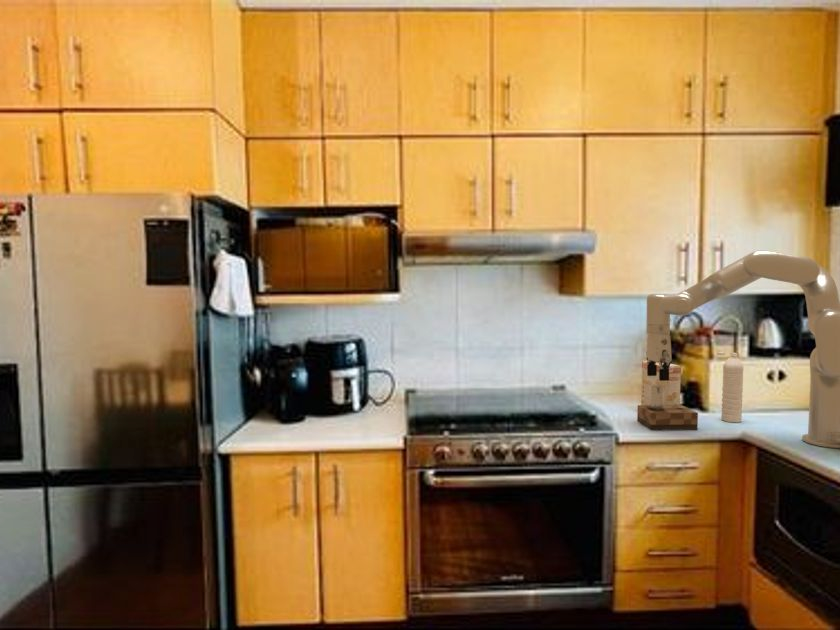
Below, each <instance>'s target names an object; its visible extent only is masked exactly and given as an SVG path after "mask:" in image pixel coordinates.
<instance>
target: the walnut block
mask: <svg viewBox="0 0 840 630" xmlns="http://www.w3.org/2000/svg"><path fill="white" fill-rule="evenodd" d="M636 414H637V417H636V418H637V419H636V421H637V422H638V424H641V425H642V426H643V427H645V428H647V429H648V430H650V431H698V425H699V424H698V423H699V421H698V420H699V419H698V418H699V412H696V410H693V409H691V408H688V407H686V406H684V405H682V404H680V405H663V409H662V411H651V410H650V405H641V404H638V405H637V413H636Z"/></svg>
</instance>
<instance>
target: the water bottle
mask: <svg viewBox="0 0 840 630" xmlns="http://www.w3.org/2000/svg"><path fill="white" fill-rule="evenodd" d="M725 354H726V352H725V351H717V353H716V355H718V356H725ZM722 368H723V369H722V374H723V375H722V388H721V389H722V394H721V395H722V398H721V402H722V403H721V420H722V421H724V422H729V423H741V422H742V419H743V418H742V413H743V410H742V408H743V391H744V390H743V386H744V385H743V384H744V383H743V382H744V381H743V380H744V365H743V363H742V361H741V360H740V359H739V357H738V352H730V353H729V357H728V358H727V359H726V361H725V362H724V364H723V366H722Z"/></svg>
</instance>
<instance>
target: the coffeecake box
mask: <svg viewBox="0 0 840 630" xmlns="http://www.w3.org/2000/svg"><path fill="white" fill-rule="evenodd" d="M662 364H664V363H662ZM641 365H642V366H641V393H640V394H641V395H640V397H641V400H640V405H650V403H651V386H653V385H657V386H663V387H664V391H663V405H681V378H682V377H681V376H682V375H681V374H682V373H681V372H682V370H681V369H682V365H678V364H674V363H670V369H669V380H668V381H660V380H659V369H661V368H660V365H659V363H657V362H656V364H655V365H657V375H656V376H648V375H647V360H642V362H641Z"/></svg>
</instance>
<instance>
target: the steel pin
mask: <svg viewBox="0 0 840 630" xmlns="http://www.w3.org/2000/svg"><path fill="white" fill-rule="evenodd" d="M663 391H664V387H663V386H657V385H653V386H651V403H650V410H651V411H662V409H663Z"/></svg>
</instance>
